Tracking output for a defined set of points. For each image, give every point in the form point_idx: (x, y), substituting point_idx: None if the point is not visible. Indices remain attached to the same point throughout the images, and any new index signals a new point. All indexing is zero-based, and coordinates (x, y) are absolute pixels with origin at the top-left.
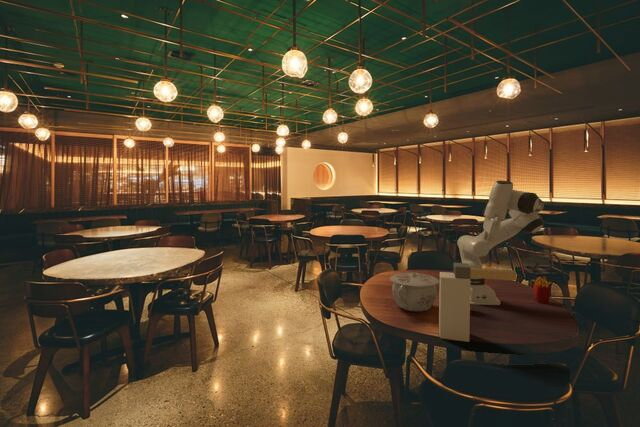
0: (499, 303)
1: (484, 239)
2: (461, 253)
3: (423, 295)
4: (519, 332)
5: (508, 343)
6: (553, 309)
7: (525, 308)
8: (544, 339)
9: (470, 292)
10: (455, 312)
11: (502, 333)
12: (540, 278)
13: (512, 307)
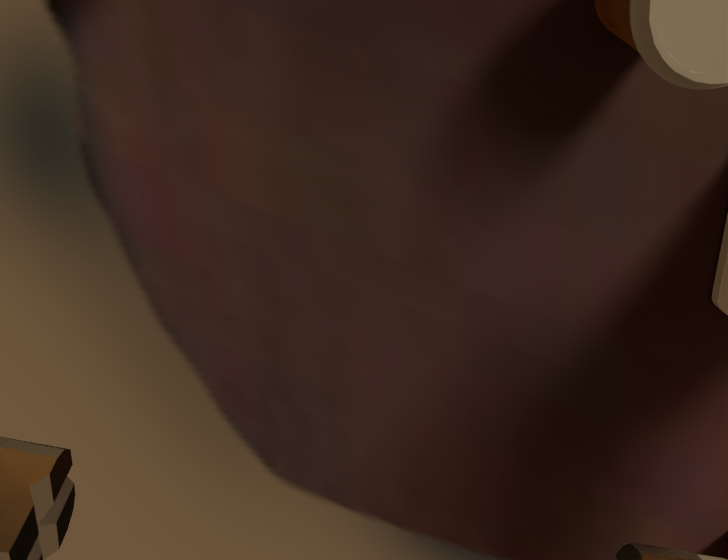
0: (723, 311)
1: (624, 546)
2: None
3: None
4: (264, 251)
5: (84, 126)
6: None
7: (648, 428)
8: (196, 338)
9: (664, 77)
10: None
11: (227, 146)
12: None
13: (668, 366)
